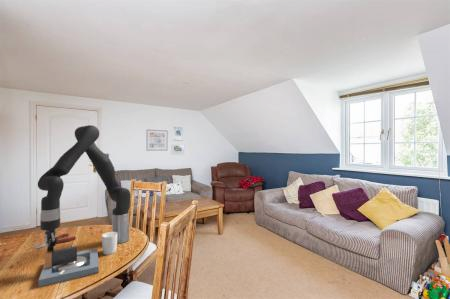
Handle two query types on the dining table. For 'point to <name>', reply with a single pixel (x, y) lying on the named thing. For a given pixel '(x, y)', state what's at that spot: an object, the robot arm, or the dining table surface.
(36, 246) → the pliers
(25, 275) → the dining table surface
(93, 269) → the housing
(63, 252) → the dial
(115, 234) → the white cup
